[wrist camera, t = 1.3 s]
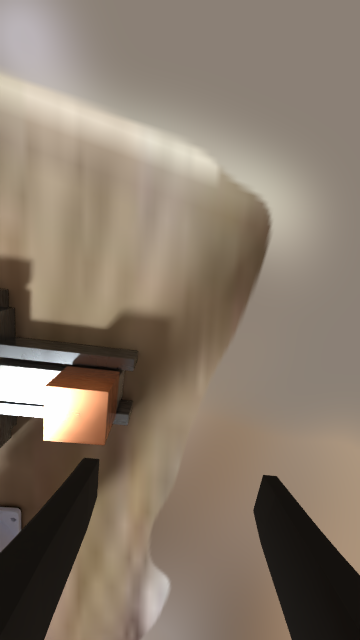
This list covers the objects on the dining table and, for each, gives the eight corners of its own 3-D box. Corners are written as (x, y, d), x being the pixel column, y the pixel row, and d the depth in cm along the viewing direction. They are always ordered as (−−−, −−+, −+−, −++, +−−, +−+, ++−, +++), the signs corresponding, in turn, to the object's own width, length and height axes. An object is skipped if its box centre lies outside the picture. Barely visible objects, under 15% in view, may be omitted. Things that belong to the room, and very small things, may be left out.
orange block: (121, 401, 19) (104, 445, 14) (-3, 389, 18) (-70, 431, 13) (125, 360, 18) (108, 392, 13) (-5, 346, 18) (-76, 374, 13)
